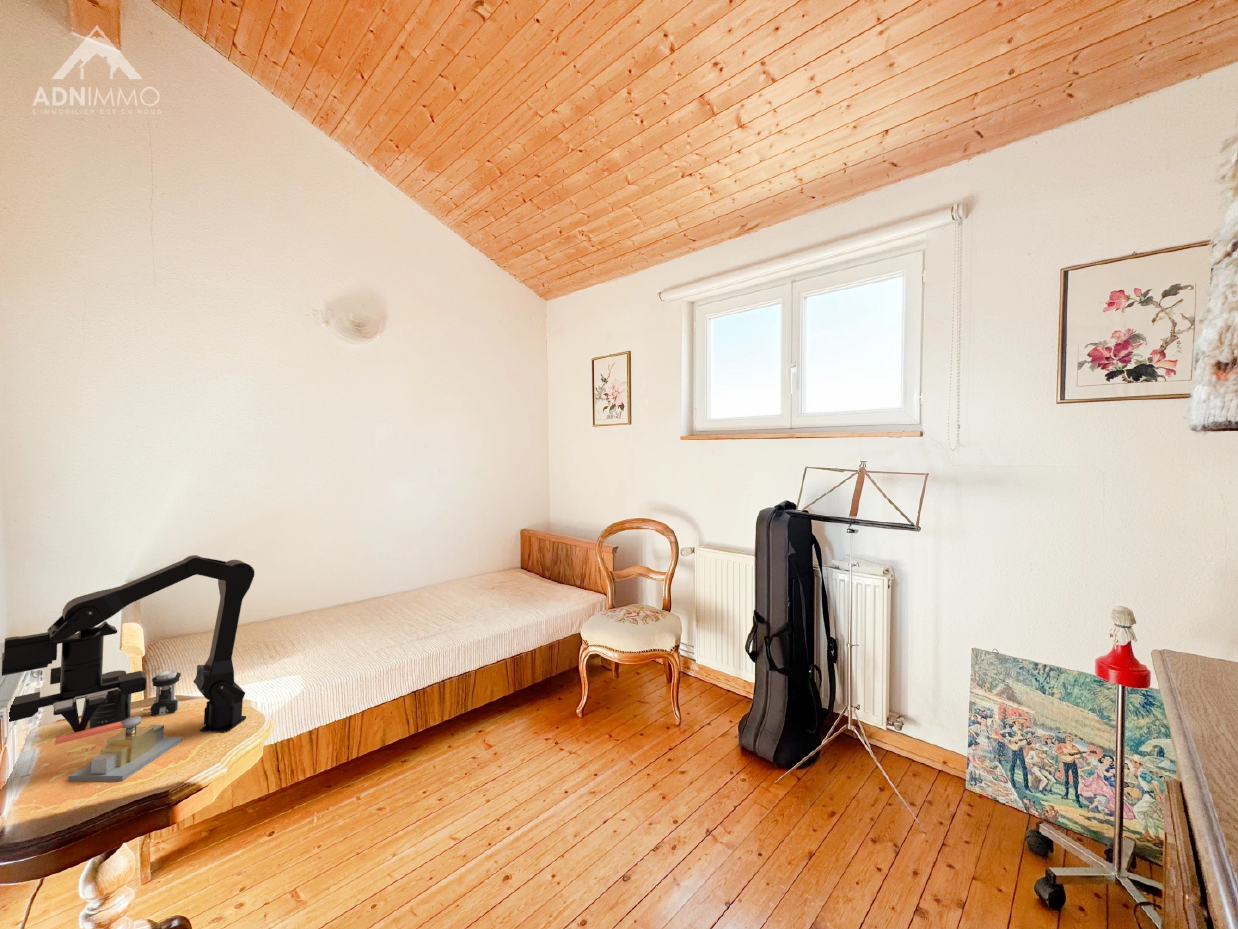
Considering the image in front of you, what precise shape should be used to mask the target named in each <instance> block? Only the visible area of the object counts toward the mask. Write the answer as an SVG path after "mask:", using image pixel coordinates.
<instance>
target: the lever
mask: <svg viewBox="0 0 1238 929" xmlns="http://www.w3.org/2000/svg"><path fill="white" fill-rule="evenodd" d="M141 724H142V716H137V715H136V716H130V718H127V719H125V720H123V721H120V722H116V723H112V724H108V725H104V726H100V727H95V728H91V729H90V728H88V729H85V730H83V731H79V732H75V733H74V732H72V733H66V734H63V735H59V736H56V737H55V741H54V745H60V744H63V743H64V744H65V743H67V742H71V741H72V742H73V741H77V740H79V739H83V738H88V737H93V736H97V735H101V734H105V733H108V732H111V731H115V730H116V731H117V730H121V729H124V730H126V728H132V727H135V726H136V727H137V726H139V725H141Z"/></svg>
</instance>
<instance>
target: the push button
mask: <svg viewBox="0 0 1238 929" xmlns="http://www.w3.org/2000/svg"><path fill="white" fill-rule="evenodd" d="M181 676H182V675H181V672H178V671H177V670H176V669H167V670H163V671H161V672H158V673H157V674H156V675H155V676H154V677H152V679H151V682H152V686H153V687H155V700H154V701H153V704H152V705H151V706H150V707H148V708H144V709H142V711H143V713H142V715H147V714H150V715H151V716H161V715H166V714H175V712H176V711H177V710H178V709H179V699H178V698H177V697H176V686H177V685H176V683H177V682H179V681H180V677H181ZM144 711H146V712H144Z"/></svg>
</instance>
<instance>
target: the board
mask: <svg viewBox="0 0 1238 929" xmlns="http://www.w3.org/2000/svg"><path fill="white" fill-rule="evenodd" d="M182 742H183V737H182V736H164V738H162V739H160V740H159V741H157V744H156V745H155V746H153V748H152V749H151V750H149V751H148V752H146V753H144V754H143V755H141V756H140V757H138V758H137V759H135V760H133V761H132V762H128V763H126V764H125V765H123V766H121V767H116V768H114V769H113V770H111V771H110V772H108V773H106V774H91V763H92V762H90V763H89V764H87V765H84V766H83V767H82V768H79V769H78V770H76V771H75V772H73V773H71V774H69V775H68V782H122V781H125V780H126V779H127V778H129V777H131V776H132V775H134V774H135V773H136V772H138V771H140V770H141V769H143V768H144V767H146V766H147V765H149V764H150V763H151V762H154V761H155V760H156V759H158V758H159V757H160V756H162V755H163V754H165V753H167V752H168V751H170V750H171V749H173V748H174V747H175V746H177V745H179V744H181V743H182Z"/></svg>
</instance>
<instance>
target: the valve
mask: <svg viewBox="0 0 1238 929" xmlns="http://www.w3.org/2000/svg"><path fill="white" fill-rule="evenodd" d="M164 734H165V725H164V724H150V725H149V726H147V727H145V726H143V727H137V726H135V727H132V728H125V729H124V730H122V731H121V732H118V733H116V734H115V735H113V736H111V737H110V738H107V739H106V741H105V742H106V743H105V747H103V748H101V749H100V754H99V755H98V756H97V755H96V757H93V758H92V759H91V762H90V763H91V774H106V773H108V772H110V771H111V770H113V769H114V768H116V767H121V766H123V765H125V764H126V763H128V762H132V761H133V760H135V759H137V758H138V757H140V756H141V755H143V754H144V753H146V752H148V751H149V750H151V749H152V748H153V746H155V745H156V744H157V741H159V740H160V739H162V738H164V737H165V736H164Z"/></svg>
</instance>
